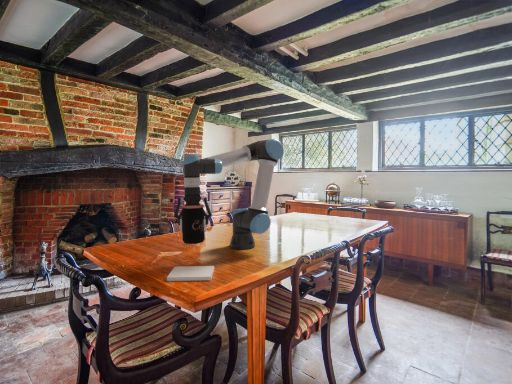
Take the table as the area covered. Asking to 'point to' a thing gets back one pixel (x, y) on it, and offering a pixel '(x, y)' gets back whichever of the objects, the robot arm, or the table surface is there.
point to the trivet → (191, 273)
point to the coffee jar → (193, 224)
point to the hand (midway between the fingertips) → (193, 231)
